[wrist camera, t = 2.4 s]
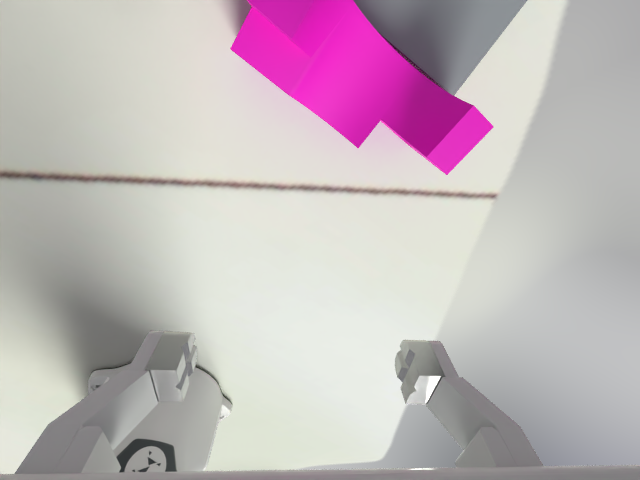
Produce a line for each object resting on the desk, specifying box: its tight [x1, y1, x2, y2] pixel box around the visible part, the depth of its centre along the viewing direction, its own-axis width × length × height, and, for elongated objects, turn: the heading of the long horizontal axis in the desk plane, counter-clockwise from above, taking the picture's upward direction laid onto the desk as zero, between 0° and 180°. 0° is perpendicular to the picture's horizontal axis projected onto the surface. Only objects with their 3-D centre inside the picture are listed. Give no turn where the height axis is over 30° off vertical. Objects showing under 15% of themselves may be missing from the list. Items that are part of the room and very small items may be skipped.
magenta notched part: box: [231, 0, 493, 175], centre depth 20 cm, size 15×6×8 cm, turn 53°
